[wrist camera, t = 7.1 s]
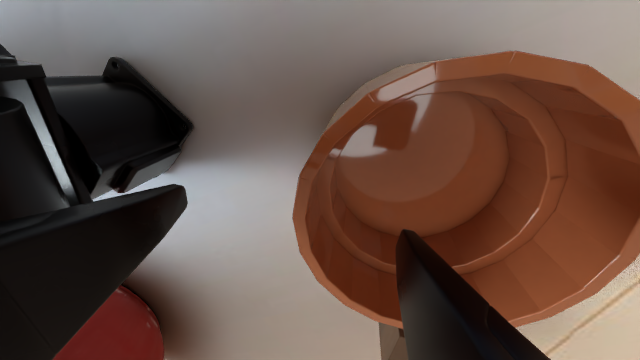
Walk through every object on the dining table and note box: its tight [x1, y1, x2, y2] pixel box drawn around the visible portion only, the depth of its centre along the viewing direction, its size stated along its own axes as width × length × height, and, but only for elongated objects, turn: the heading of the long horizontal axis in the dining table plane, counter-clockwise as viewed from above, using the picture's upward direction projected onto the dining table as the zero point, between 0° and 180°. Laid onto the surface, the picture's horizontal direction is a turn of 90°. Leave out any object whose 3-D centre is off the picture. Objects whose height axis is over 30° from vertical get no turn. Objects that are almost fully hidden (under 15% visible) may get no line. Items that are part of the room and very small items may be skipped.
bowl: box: [292, 51, 640, 329], centre depth 12 cm, size 13×13×7 cm
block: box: [379, 323, 408, 360], centre depth 19 cm, size 5×5×5 cm
